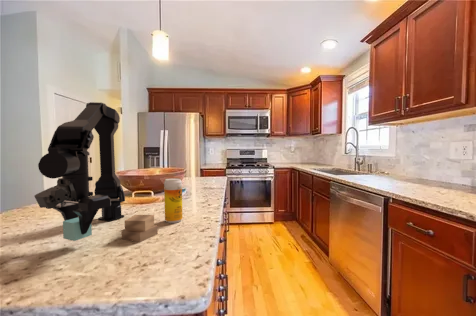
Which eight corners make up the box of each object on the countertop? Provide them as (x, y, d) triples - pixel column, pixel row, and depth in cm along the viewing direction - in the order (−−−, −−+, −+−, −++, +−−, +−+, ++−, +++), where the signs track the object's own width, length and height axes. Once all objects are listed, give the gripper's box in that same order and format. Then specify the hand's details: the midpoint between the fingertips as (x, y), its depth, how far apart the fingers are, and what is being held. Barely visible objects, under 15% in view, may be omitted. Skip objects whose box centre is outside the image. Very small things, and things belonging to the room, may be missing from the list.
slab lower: (121, 240, 69) (121, 230, 69) (140, 232, 75) (139, 223, 75) (140, 243, 66) (140, 233, 66) (157, 235, 73) (157, 225, 72)
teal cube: (63, 238, 62) (62, 221, 62) (80, 232, 66) (80, 216, 66) (74, 241, 60) (74, 223, 60) (91, 234, 64) (91, 218, 64)
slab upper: (124, 231, 68) (124, 220, 68) (135, 224, 74) (135, 214, 74) (145, 231, 68) (145, 220, 67) (154, 224, 74) (154, 214, 73)
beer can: (177, 224, 82) (177, 180, 81) (161, 223, 83) (160, 180, 82) (185, 218, 88) (184, 178, 87) (170, 218, 89) (169, 178, 88)
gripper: (17, 175, 58) (20, 238, 59) (65, 179, 51) (68, 250, 52) (65, 171, 69) (67, 224, 69) (111, 173, 61) (113, 233, 62)
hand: (77, 232), depth 63 cm, fingers closed on teal cube, 4 cm apart
